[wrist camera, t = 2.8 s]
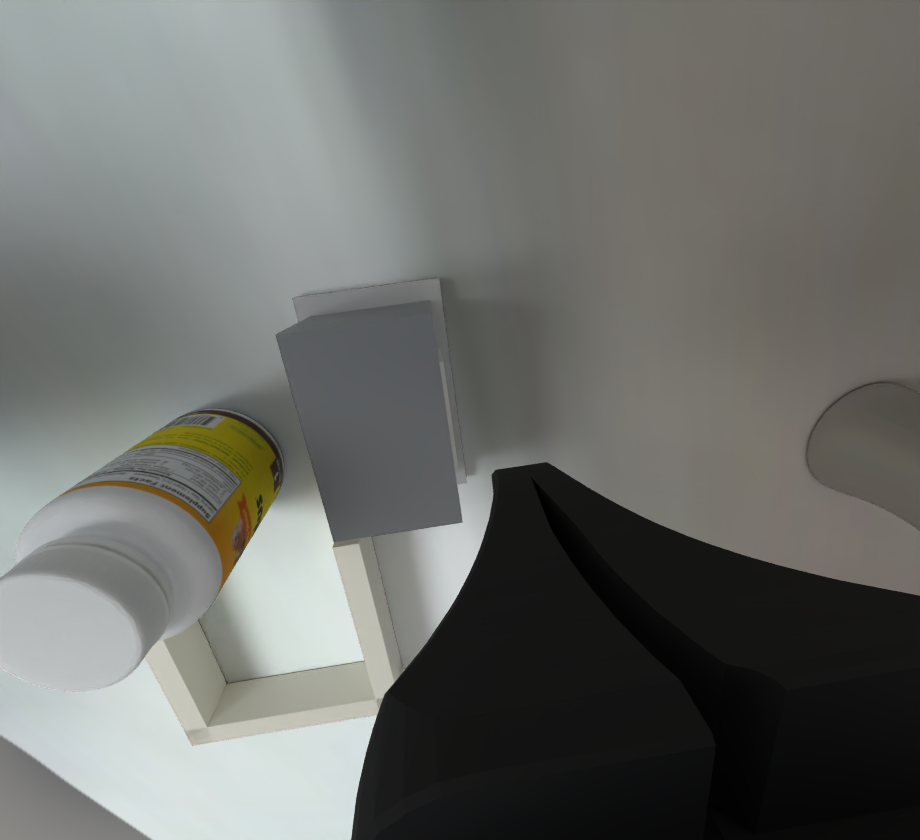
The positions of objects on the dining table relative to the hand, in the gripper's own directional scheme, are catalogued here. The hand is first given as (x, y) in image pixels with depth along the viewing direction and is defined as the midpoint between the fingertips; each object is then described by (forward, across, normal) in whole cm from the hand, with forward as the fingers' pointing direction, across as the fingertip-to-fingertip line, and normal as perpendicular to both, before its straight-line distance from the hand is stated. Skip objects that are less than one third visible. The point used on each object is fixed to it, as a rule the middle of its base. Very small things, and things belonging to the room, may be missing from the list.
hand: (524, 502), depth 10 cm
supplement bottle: (+11, +12, +2) cm, 16 cm away
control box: (+10, +4, 0) cm, 11 cm away
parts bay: (+10, +12, +11) cm, 19 cm away
